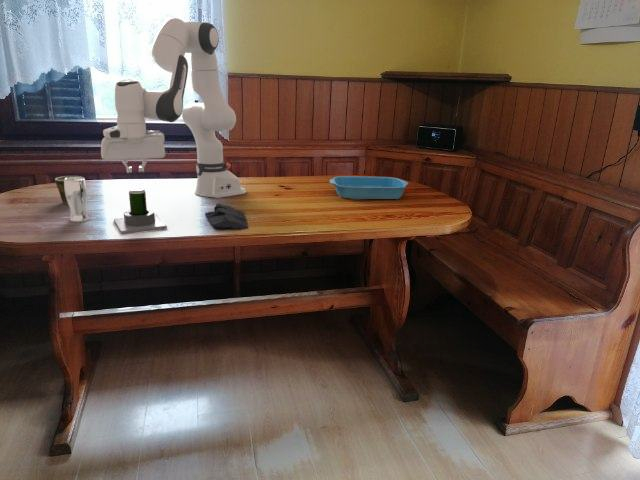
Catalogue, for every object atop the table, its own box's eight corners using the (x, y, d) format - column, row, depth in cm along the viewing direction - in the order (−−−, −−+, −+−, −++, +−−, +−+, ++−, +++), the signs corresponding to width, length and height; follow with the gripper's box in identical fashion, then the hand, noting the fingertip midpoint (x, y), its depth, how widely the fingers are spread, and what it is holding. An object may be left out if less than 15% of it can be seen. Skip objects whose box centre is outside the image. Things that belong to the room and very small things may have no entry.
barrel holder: (156, 217, 181) (155, 205, 180) (167, 228, 169) (166, 216, 168) (114, 221, 174) (112, 209, 172) (121, 234, 162) (120, 221, 160)
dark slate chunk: (206, 232, 169) (206, 219, 168) (204, 214, 189) (204, 202, 188) (250, 230, 173) (250, 218, 171) (244, 213, 193) (244, 201, 191)
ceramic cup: (91, 201, 197) (88, 177, 194) (70, 207, 188) (66, 182, 185) (69, 197, 202) (66, 173, 199) (47, 202, 193) (43, 177, 190)
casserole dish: (331, 200, 216) (331, 185, 213) (326, 189, 237) (327, 174, 234) (412, 202, 219) (413, 187, 216) (400, 190, 240) (402, 176, 237)
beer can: (134, 225, 168) (131, 191, 164) (129, 221, 172) (126, 188, 168) (150, 223, 171) (147, 189, 167) (144, 219, 175) (142, 186, 171)
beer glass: (73, 216, 178) (67, 176, 173) (93, 217, 178) (88, 176, 173) (65, 222, 171) (59, 180, 166) (86, 222, 172) (80, 181, 167)
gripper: (161, 129, 168) (164, 168, 173) (97, 130, 158) (102, 172, 163) (166, 131, 163) (168, 172, 168) (100, 133, 153) (105, 176, 158)
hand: (135, 172), depth 165 cm, fingers open, 3 cm apart
